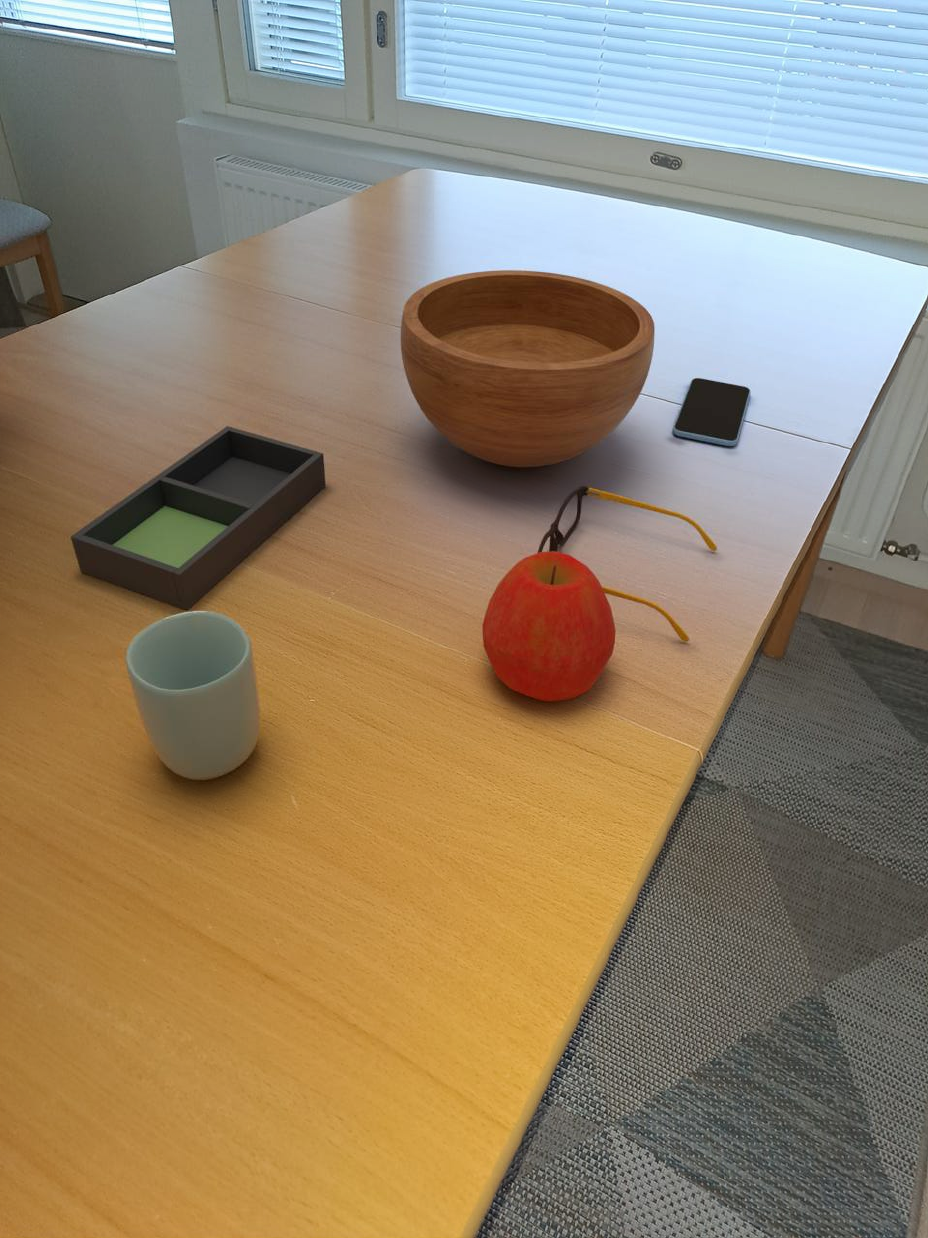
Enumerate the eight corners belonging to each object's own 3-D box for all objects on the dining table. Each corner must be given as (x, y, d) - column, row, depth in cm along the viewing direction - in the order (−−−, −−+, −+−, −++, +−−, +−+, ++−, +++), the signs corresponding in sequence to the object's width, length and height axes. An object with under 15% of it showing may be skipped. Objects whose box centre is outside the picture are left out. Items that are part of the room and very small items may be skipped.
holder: (80, 572, 80) (70, 536, 77) (231, 458, 95) (227, 425, 93) (187, 610, 76) (179, 574, 74) (325, 486, 92) (323, 453, 89)
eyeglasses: (569, 516, 90) (573, 480, 87) (716, 551, 86) (725, 516, 83) (522, 599, 79) (526, 562, 77) (687, 644, 76) (697, 607, 73)
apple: (474, 628, 76) (480, 524, 69) (595, 626, 77) (613, 523, 70) (484, 718, 68) (493, 610, 62) (619, 714, 69) (642, 608, 62)
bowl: (355, 438, 100) (349, 301, 90) (522, 378, 112) (533, 253, 103) (508, 545, 85) (521, 397, 76) (680, 463, 98) (710, 327, 88)
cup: (232, 698, 69) (213, 595, 62) (287, 760, 64) (273, 656, 58) (134, 746, 65) (103, 641, 58) (185, 816, 60) (159, 710, 54)
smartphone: (752, 386, 111) (737, 442, 100) (750, 393, 112) (736, 449, 101) (691, 375, 113) (671, 428, 102) (690, 381, 113) (669, 435, 102)
